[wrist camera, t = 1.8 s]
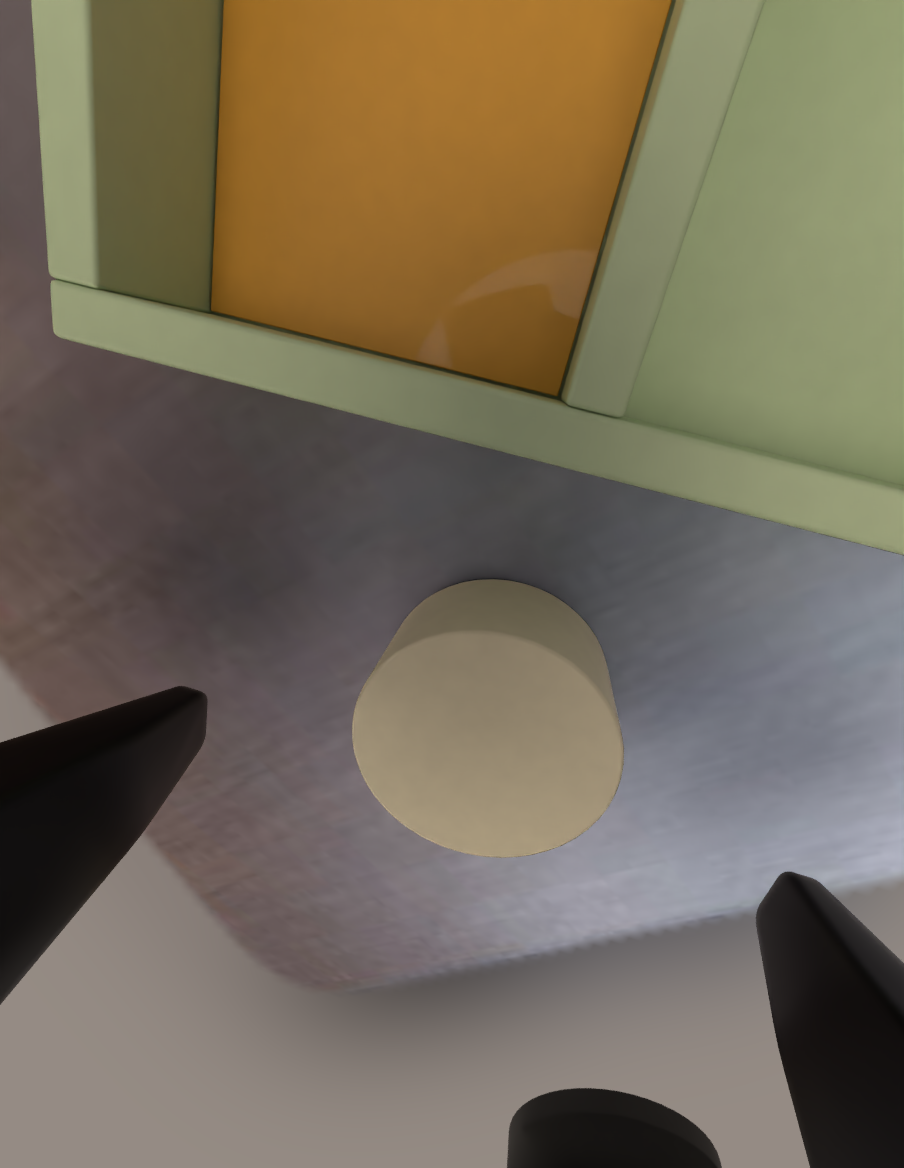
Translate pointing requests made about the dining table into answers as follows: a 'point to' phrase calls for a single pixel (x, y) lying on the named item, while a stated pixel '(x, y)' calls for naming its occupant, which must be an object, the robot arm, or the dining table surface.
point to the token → (491, 722)
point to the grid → (508, 226)
